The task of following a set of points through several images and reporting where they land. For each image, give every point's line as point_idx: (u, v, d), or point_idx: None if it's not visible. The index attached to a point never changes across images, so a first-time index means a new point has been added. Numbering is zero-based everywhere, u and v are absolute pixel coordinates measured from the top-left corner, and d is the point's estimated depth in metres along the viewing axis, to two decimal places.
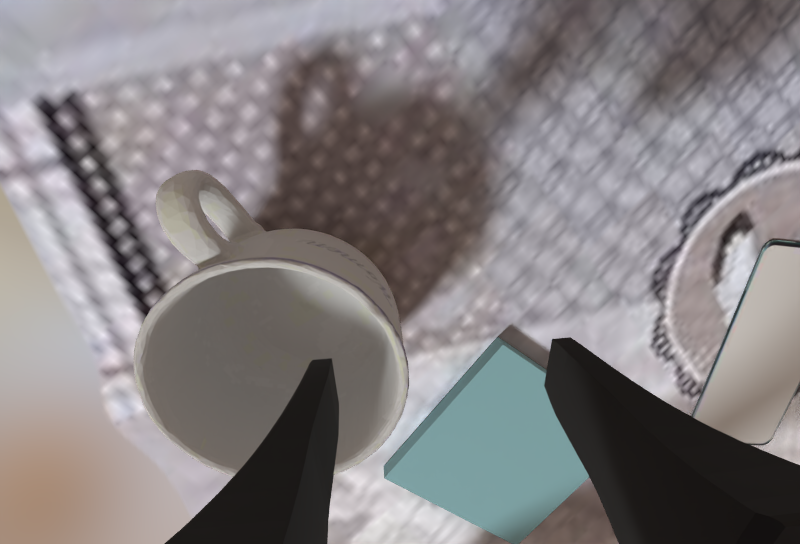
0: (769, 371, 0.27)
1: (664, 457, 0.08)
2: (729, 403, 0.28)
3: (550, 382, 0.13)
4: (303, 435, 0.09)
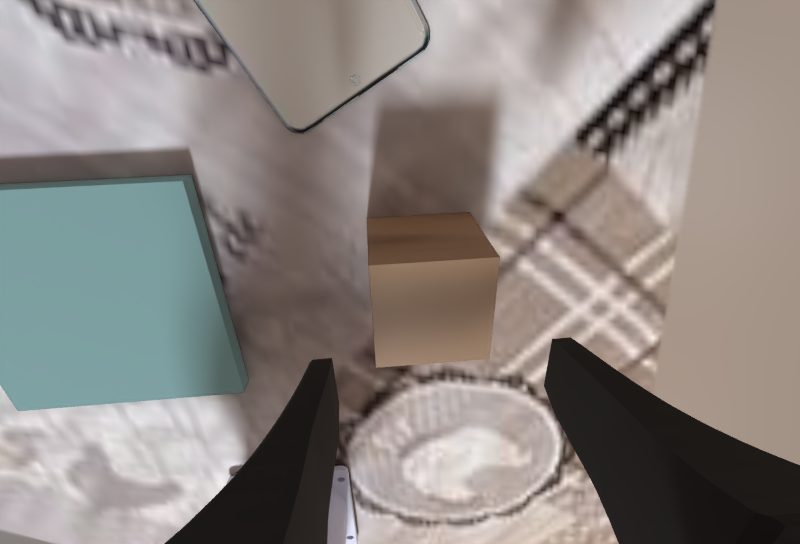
0: None
1: (664, 457, 0.08)
2: (286, 27, 0.15)
3: (550, 382, 0.13)
4: (303, 435, 0.09)
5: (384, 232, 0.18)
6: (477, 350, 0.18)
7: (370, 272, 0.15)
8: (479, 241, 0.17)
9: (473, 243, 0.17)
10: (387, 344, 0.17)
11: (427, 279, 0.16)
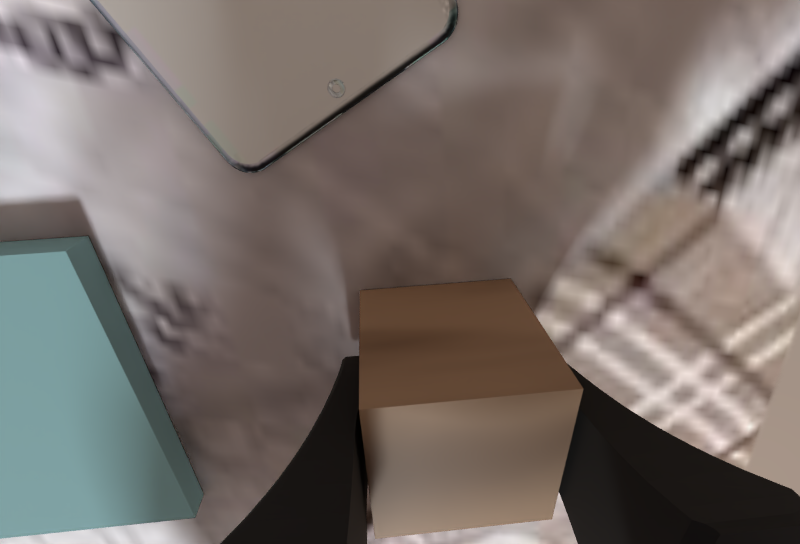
0: None
1: (615, 462, 0.08)
2: (217, 1, 0.09)
3: None
4: (348, 431, 0.09)
5: (385, 324, 0.11)
6: (534, 510, 0.11)
7: (362, 419, 0.09)
8: (539, 347, 0.10)
9: (531, 351, 0.10)
10: (392, 510, 0.11)
11: (459, 424, 0.09)
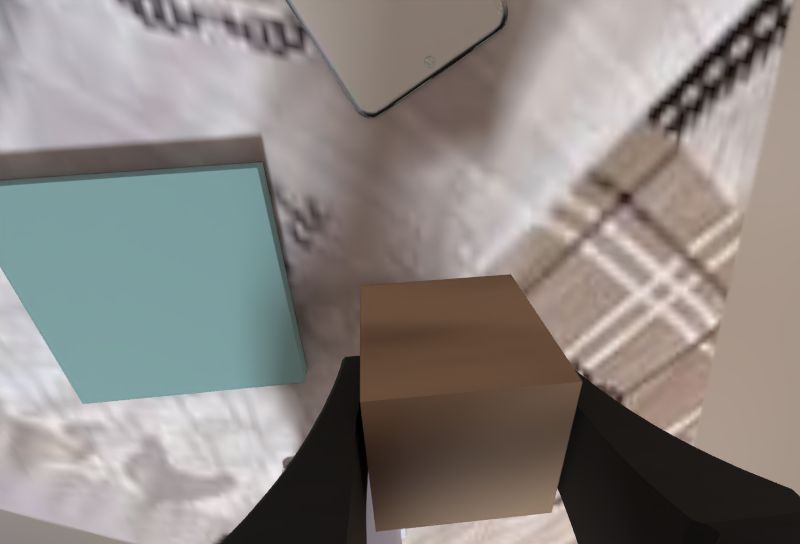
0: None
1: (615, 462, 0.08)
2: (364, 8, 0.15)
3: None
4: (347, 431, 0.09)
5: (386, 319, 0.12)
6: (533, 503, 0.11)
7: (363, 411, 0.09)
8: (539, 341, 0.10)
9: (530, 345, 0.10)
10: (393, 503, 0.11)
11: (459, 417, 0.09)
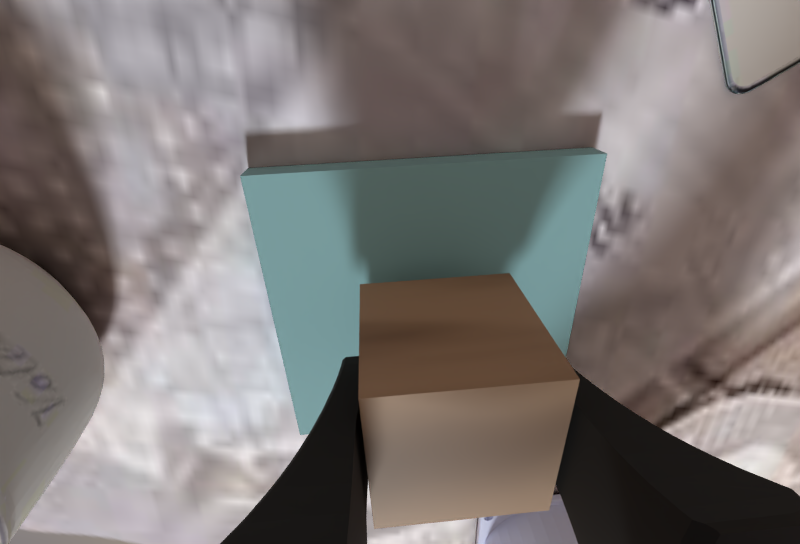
0: None
1: (615, 462, 0.08)
2: None
3: None
4: (347, 431, 0.09)
5: (385, 317, 0.12)
6: (531, 501, 0.11)
7: (362, 408, 0.09)
8: (537, 339, 0.10)
9: (529, 343, 0.10)
10: (391, 500, 0.11)
11: (457, 414, 0.09)
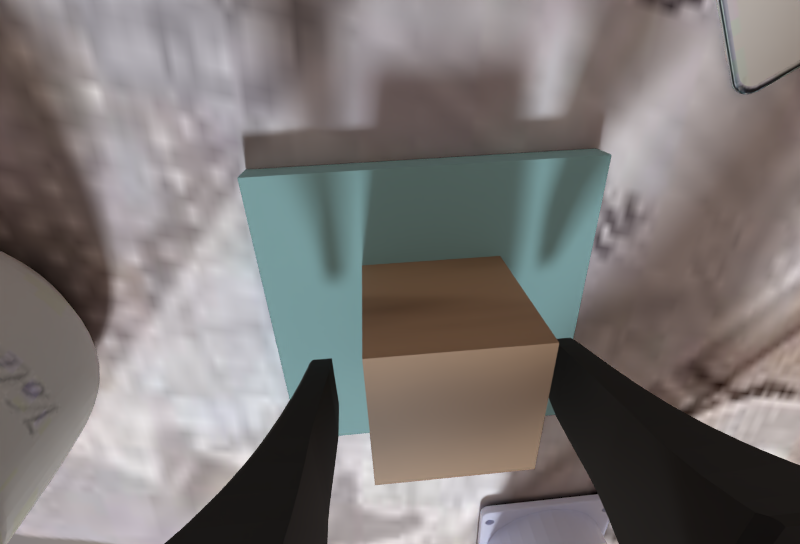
0: None
1: (663, 457, 0.08)
2: None
3: None
4: (303, 435, 0.09)
5: (385, 292, 0.13)
6: (518, 460, 0.12)
7: (365, 368, 0.10)
8: (522, 310, 0.12)
9: (515, 314, 0.11)
10: (391, 457, 0.12)
11: (450, 375, 0.10)
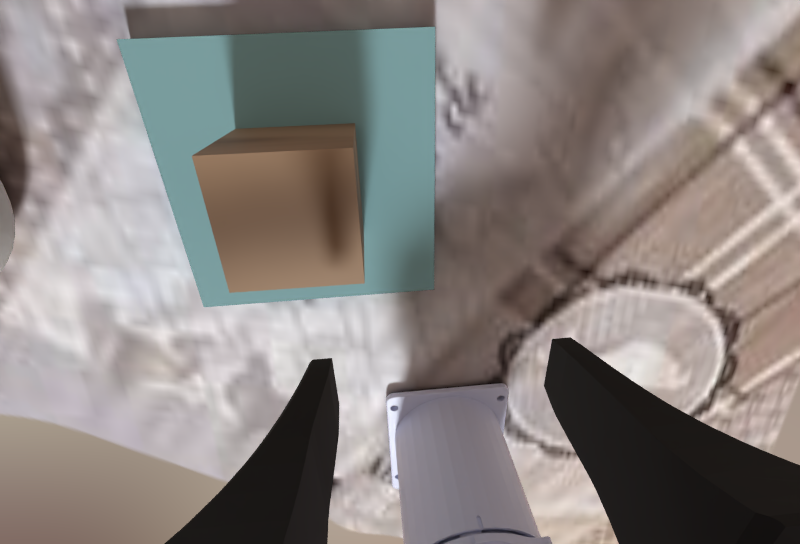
0: None
1: (664, 457, 0.08)
2: None
3: (550, 382, 0.13)
4: (303, 435, 0.09)
5: (241, 136, 0.15)
6: (348, 272, 0.15)
7: (195, 165, 0.13)
8: (341, 139, 0.14)
9: (334, 140, 0.14)
10: (237, 262, 0.14)
11: (268, 176, 0.13)
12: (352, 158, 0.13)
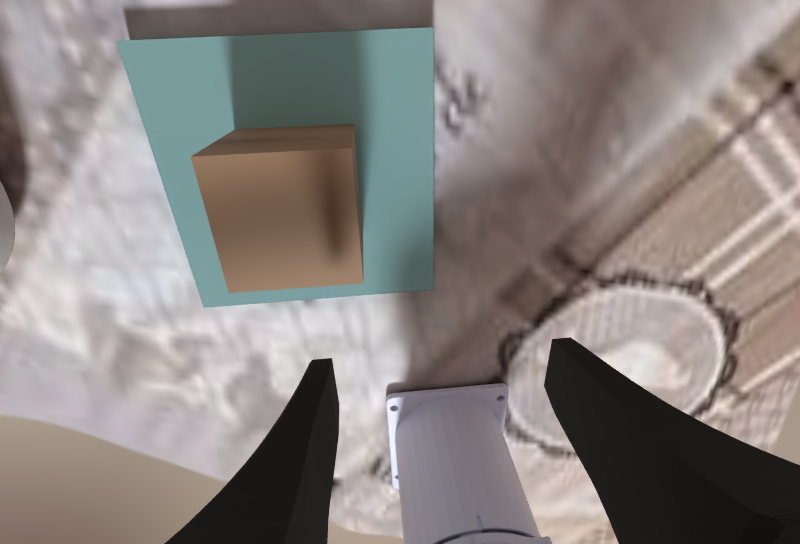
0: None
1: (663, 457, 0.08)
2: None
3: (550, 382, 0.13)
4: (303, 435, 0.09)
5: (240, 137, 0.15)
6: (347, 272, 0.15)
7: (194, 166, 0.13)
8: (340, 139, 0.14)
9: (332, 140, 0.14)
10: (236, 262, 0.14)
11: (267, 176, 0.13)
12: (350, 158, 0.13)
